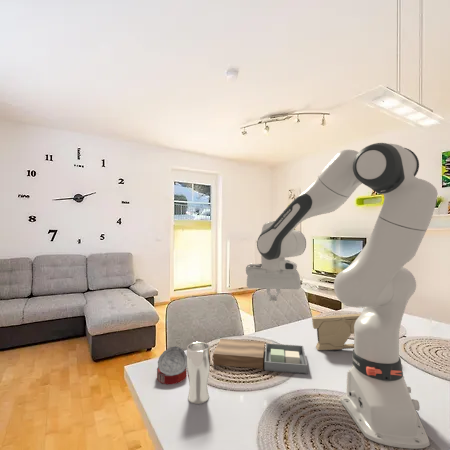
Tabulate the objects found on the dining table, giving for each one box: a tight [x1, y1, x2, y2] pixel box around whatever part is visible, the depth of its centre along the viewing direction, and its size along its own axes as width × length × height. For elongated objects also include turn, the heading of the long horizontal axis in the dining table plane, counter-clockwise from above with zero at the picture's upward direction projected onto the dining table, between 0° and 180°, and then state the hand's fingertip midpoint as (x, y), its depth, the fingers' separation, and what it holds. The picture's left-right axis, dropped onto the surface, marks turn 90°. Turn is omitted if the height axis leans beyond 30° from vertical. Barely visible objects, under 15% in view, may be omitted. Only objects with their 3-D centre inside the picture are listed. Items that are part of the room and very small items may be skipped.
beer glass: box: [186, 341, 211, 405], centre depth 82 cm, size 7×7×15 cm
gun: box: [311, 313, 361, 352], centre depth 113 cm, size 24×3×15 cm, turn 84°
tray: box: [264, 342, 309, 375], centre depth 104 cm, size 16×14×3 cm
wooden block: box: [212, 338, 266, 370], centre depth 107 cm, size 14×18×4 cm
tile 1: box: [271, 349, 284, 362], centre depth 105 cm, size 5×5×2 cm
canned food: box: [156, 346, 188, 385], centre depth 94 cm, size 11×10×10 cm
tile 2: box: [285, 351, 300, 364], centre depth 103 cm, size 5×5×2 cm
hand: (273, 300), depth 106 cm, fingers closed
